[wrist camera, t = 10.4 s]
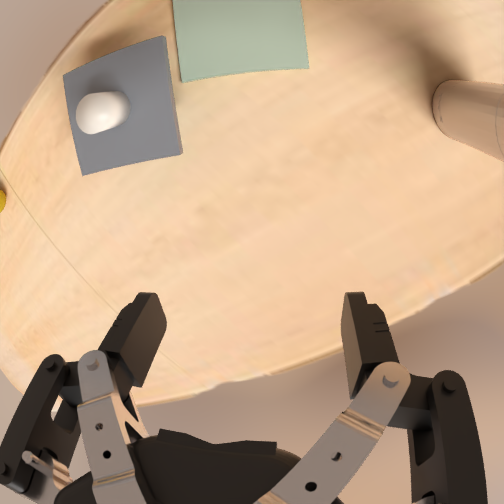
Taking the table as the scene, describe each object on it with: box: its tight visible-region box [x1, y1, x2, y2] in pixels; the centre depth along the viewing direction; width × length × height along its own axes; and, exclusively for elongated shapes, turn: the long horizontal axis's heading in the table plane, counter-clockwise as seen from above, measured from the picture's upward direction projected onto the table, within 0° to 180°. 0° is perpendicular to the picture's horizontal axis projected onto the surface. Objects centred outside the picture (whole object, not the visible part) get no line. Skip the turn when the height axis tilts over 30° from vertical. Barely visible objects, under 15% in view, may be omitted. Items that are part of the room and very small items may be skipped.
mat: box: [172, 0, 309, 83], centre depth 26 cm, size 16×16×1 cm
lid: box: [63, 36, 183, 176], centre depth 23 cm, size 13×13×5 cm
